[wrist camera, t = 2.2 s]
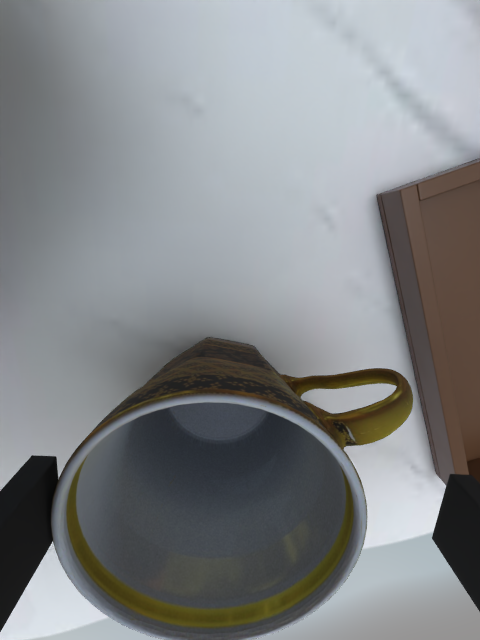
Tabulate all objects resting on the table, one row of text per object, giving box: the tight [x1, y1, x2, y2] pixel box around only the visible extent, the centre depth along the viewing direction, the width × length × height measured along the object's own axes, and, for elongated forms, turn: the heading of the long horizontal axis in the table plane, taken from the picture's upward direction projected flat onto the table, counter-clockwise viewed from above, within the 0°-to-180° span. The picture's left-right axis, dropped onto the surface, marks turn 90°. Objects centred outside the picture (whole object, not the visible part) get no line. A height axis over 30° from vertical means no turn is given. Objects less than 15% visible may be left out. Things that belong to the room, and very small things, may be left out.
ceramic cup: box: [51, 337, 413, 640], centre depth 15 cm, size 13×10×10 cm
